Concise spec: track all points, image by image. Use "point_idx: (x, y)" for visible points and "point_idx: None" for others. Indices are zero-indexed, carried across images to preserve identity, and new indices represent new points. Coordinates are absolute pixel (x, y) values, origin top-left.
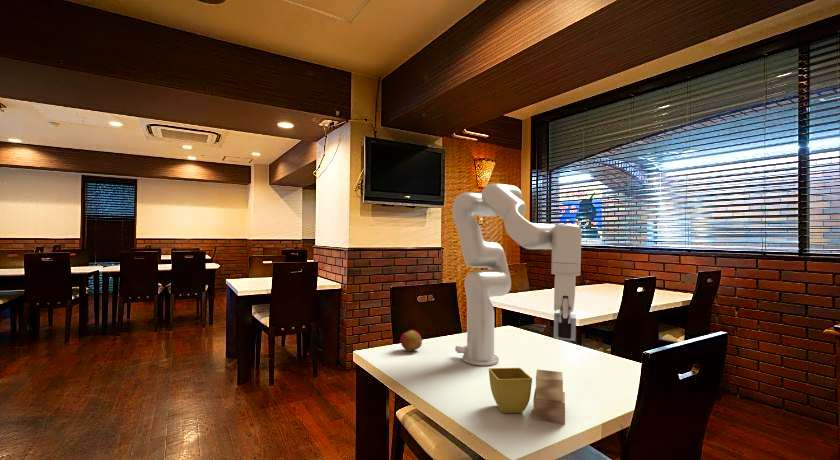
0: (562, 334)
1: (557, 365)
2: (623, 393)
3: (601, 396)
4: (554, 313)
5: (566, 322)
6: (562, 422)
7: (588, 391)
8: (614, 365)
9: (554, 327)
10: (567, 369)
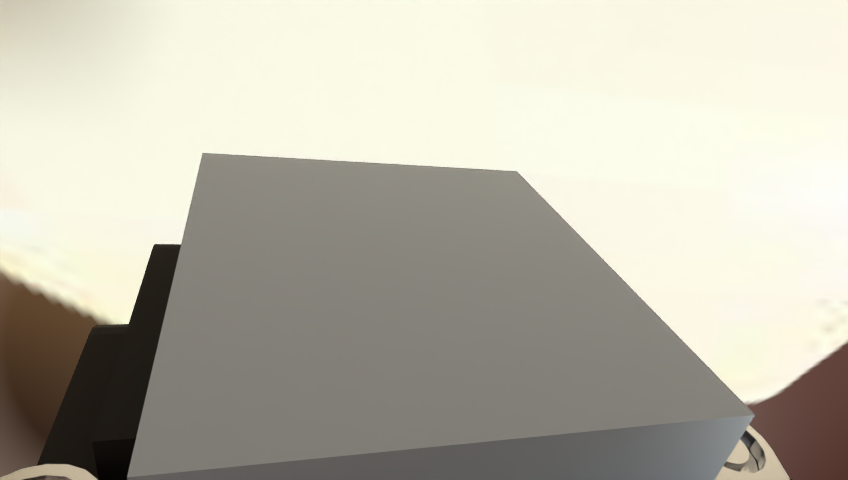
0: (94, 335)
1: (778, 98)
2: None
3: None
4: (651, 428)
5: None
6: None
7: None
8: (742, 345)
9: (180, 265)
10: (713, 147)
